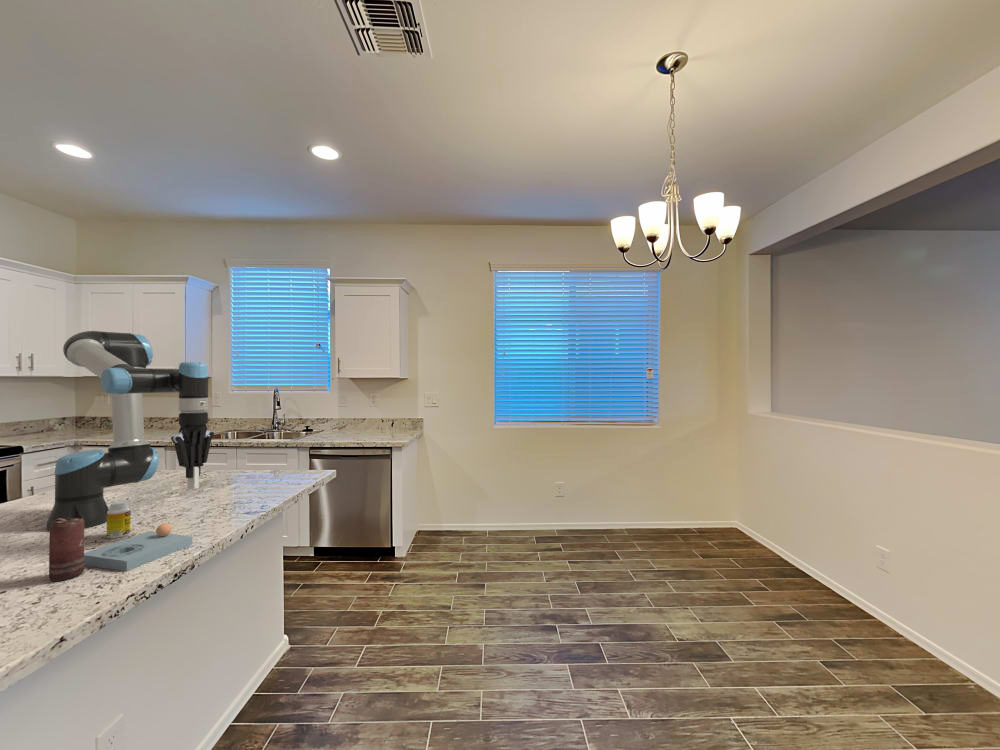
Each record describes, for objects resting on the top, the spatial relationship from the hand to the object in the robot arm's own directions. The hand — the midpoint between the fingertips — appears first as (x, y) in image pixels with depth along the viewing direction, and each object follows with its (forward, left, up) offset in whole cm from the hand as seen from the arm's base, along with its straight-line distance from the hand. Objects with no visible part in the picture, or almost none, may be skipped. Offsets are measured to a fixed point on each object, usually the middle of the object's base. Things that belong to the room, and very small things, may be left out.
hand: (193, 487), depth 138 cm
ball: (0, -9, -10) cm, 13 cm away
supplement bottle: (-20, -7, -15) cm, 26 cm away
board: (0, -16, -14) cm, 22 cm away
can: (-3, -31, -15) cm, 34 cm away
